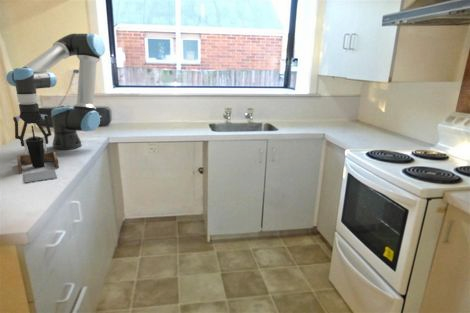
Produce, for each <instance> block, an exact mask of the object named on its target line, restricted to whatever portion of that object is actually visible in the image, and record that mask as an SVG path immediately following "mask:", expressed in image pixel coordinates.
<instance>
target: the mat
mask: <svg viewBox="0 0 470 313" xmlns="http://www.w3.org/2000/svg"><path fill="white" fill-rule="evenodd" d="M23 178H24V184H25V183H26V184H31V183H30V182H32V183H36V182H35V181H39V182H42V181H41V180H45V181H48V180H47V179H51V180H54V179H53V178H57V179H58V175H57V174H56V170H55V169H54V168H53V169H47V170H41V171H34V172H28V173H24V176H23Z"/></svg>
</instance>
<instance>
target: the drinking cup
mask: <svg viewBox="0 0 470 313" xmlns="http://www.w3.org/2000/svg"><path fill="white" fill-rule="evenodd" d="M30 127H31V134H32V136H29V137H27V138H24V139H25V141H26V146H27V152H28V155H30V159H31V162H32V164H31V165H32V168H33V169H41V168H45V162H44V153H45V148H44V141H43V136H42V137H41V136H37V135H36V136H35V130H34V125H31V126H30Z"/></svg>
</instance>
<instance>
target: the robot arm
mask: <svg viewBox="0 0 470 313" xmlns="http://www.w3.org/2000/svg"><path fill="white" fill-rule="evenodd" d="M105 52H106V46H105V43H104V41H103V38H102V36H100V35H98V34H97V33H69V34H67V35H65V36H63V37H61V38H59V39H58V40H56V41H55V42H54V43H52V46H51V47H50V48H48V49H47V50H46V51H44V52H43V53H41V54H40V55H38V56H37V57H35V58H34V59H33V60H31V61H30V62H28V63H26V64H25V65H24V66H22V67H15V68H13V70H10V71H9V72H7V73H6V76H5V77H6V81H7V83H8V84H9V85H10V86H11V87H15V91H16V96H17V102H18V107H19V115H18V116H13V117H12V119H13V122H14V137H15V139H16V140H20V145H21V147H24V152H25V154H29V151H28V148H27V144H26V141H25V139H26V138H24V137H25V133H26V131H27V127H28V125H30V124H36V126H37V128H39V130H40V132H41V133H42V135H43V136H42V138H43V145H44V152H47V151H48V149H47V148H48V147H47V145H48V144H49V138H48V137H51V136H52V131H51V128H50V125H49V121H48V118H49V117H48V115H47V114H41V113H40V108H39V103H38V95H37V90H38V89H50V88H53V87H55V86H56V85H57V82H58V81H57V80H58V79H57V76H56V75H55V74H54V72H52V71H48V70H50V69H51V68H52V67H54V66H55V65H56V64H58V63H59V62H60V61H62V60H63V59H64V60H66V59H68V58H69V57H72V56H76V58H78V60H79V65H78V81H77V97H76V104H74V105H73V106H63V107H57V108H53V109H51V113H50V114H51V122H52V127H53V134H54V135H53V140H52V149H54V150H56V151H57V150H58V151H67V150H75V149H77V148H78V149H79V148H81V147H82V141H81V139H80V137H79V135H78V132H80V131H81V132H94V131H95V130H97V128H98V127H99V125H100V123H101V115H100V114H99V113H100V112H98V111H97V108H96V106H95V104H94V103H95V90H96V74H97V73H96V72H97V63H98V62H100V57H102V56H103V55H105ZM41 118H42V120H43V121H44V124H45V126H46V130H47V132H46V131H45V130H44V128H43V125H41V122H39V120H40V119H41ZM20 119H21V120H22V121H23V125H22V129H21V132H20V135H19V121H20ZM77 131H78V132H77Z"/></svg>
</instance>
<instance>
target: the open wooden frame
mask: <svg viewBox="0 0 470 313" xmlns="http://www.w3.org/2000/svg"><path fill="white" fill-rule="evenodd" d="M47 162H48V163H49V162H54V164H55V168H56V169H59V168H60V165H59V160H58V156H57V153H56V151H48V152H47V151H45V152H44V163H47ZM16 163H17V169H18V174H20V175H21V174H22V173H23V171H22V170H23V168H22V165H25V166H26V165H29V164H31V165H32V162H31V159H30V155H29V154H22V155H21V154H19V155H17V162H16Z"/></svg>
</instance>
